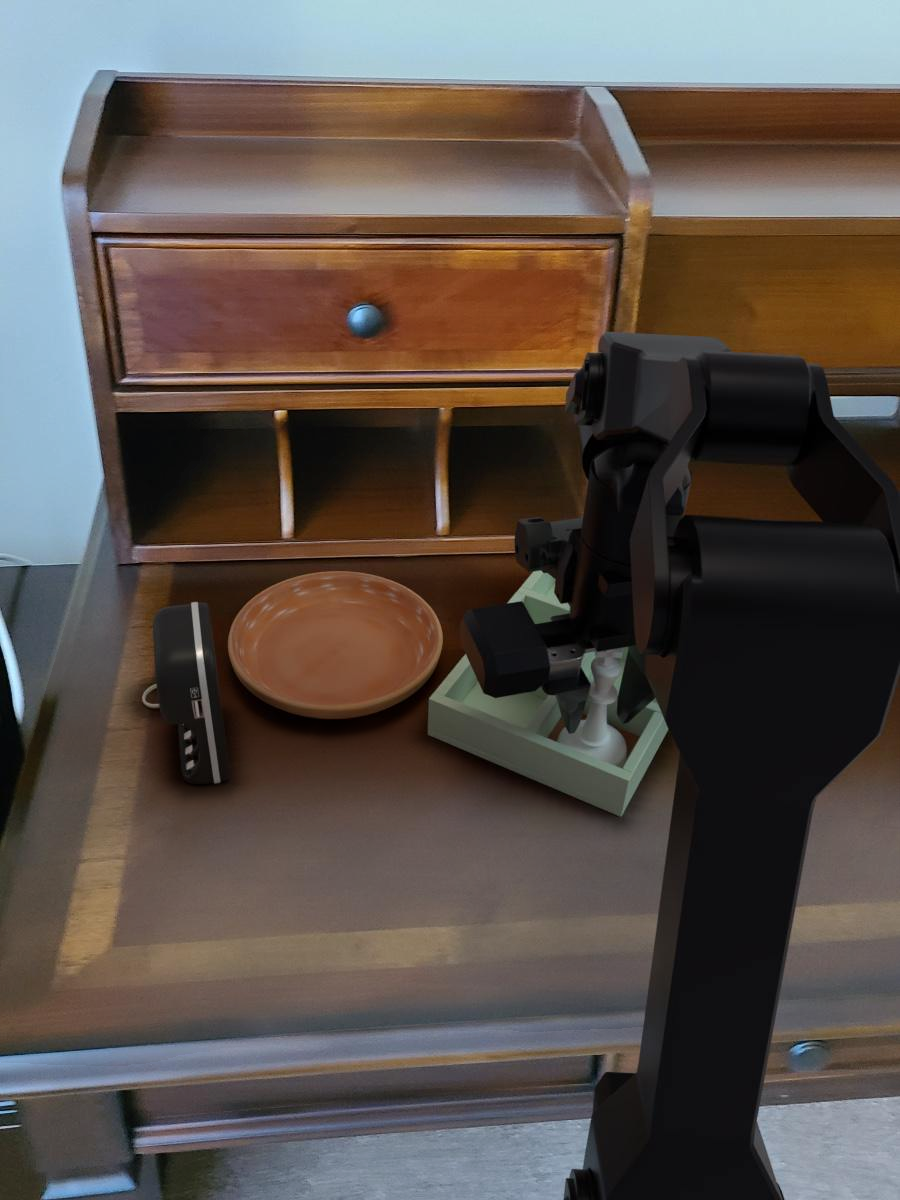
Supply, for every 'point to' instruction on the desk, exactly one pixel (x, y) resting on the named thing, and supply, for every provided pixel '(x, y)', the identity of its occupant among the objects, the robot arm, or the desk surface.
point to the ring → (147, 694)
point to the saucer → (335, 644)
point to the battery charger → (191, 690)
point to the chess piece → (600, 714)
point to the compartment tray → (543, 723)
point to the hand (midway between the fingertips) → (595, 723)
